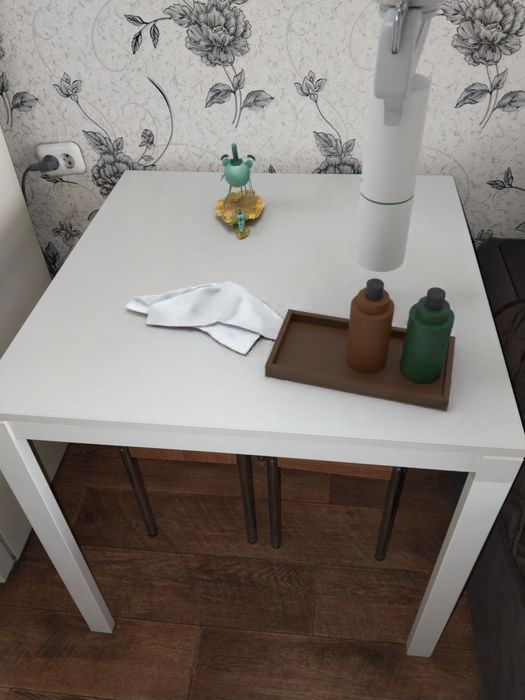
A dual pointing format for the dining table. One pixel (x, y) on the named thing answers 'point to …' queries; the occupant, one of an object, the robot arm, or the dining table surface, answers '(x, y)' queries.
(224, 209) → the frog figurine
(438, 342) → the green bottle
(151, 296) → the cloth
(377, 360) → the brown bottle
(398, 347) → the tray
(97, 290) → the dining table surface
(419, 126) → the cylindrical container
